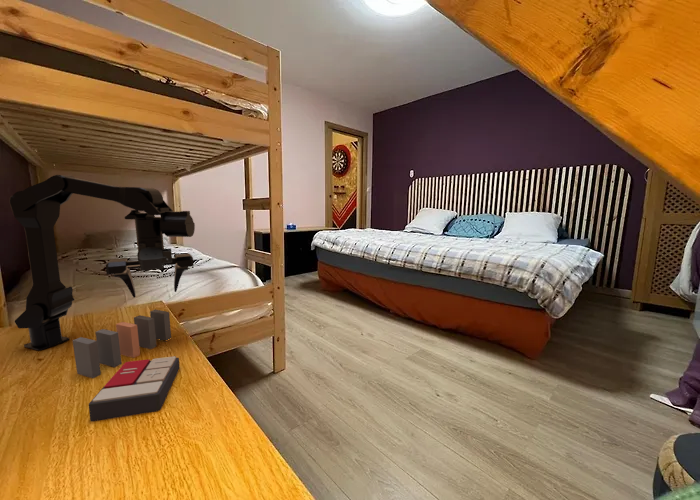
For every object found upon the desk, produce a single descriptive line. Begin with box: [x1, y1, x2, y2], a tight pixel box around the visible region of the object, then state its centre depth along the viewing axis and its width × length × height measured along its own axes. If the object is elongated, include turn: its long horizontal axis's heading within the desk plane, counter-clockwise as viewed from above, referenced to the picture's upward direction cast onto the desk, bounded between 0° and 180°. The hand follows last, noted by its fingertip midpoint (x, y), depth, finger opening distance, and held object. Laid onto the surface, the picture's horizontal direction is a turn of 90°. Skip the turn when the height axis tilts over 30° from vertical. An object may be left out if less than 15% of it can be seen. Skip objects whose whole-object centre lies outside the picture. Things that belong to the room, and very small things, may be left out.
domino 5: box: [149, 308, 172, 341], centre depth 82 cm, size 5×2×8 cm, turn 72°
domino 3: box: [115, 321, 141, 358], centre depth 74 cm, size 5×2×8 cm, turn 72°
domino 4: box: [133, 314, 157, 350], centre depth 78 cm, size 5×2×8 cm, turn 72°
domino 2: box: [95, 328, 123, 368], centre depth 69 cm, size 5×2×8 cm, turn 72°
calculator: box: [88, 355, 180, 423], centre depth 61 cm, size 11×4×15 cm
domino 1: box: [72, 336, 102, 379], centre depth 65 cm, size 5×2×8 cm, turn 72°
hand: (155, 294), depth 79 cm, fingers open, 9 cm apart
